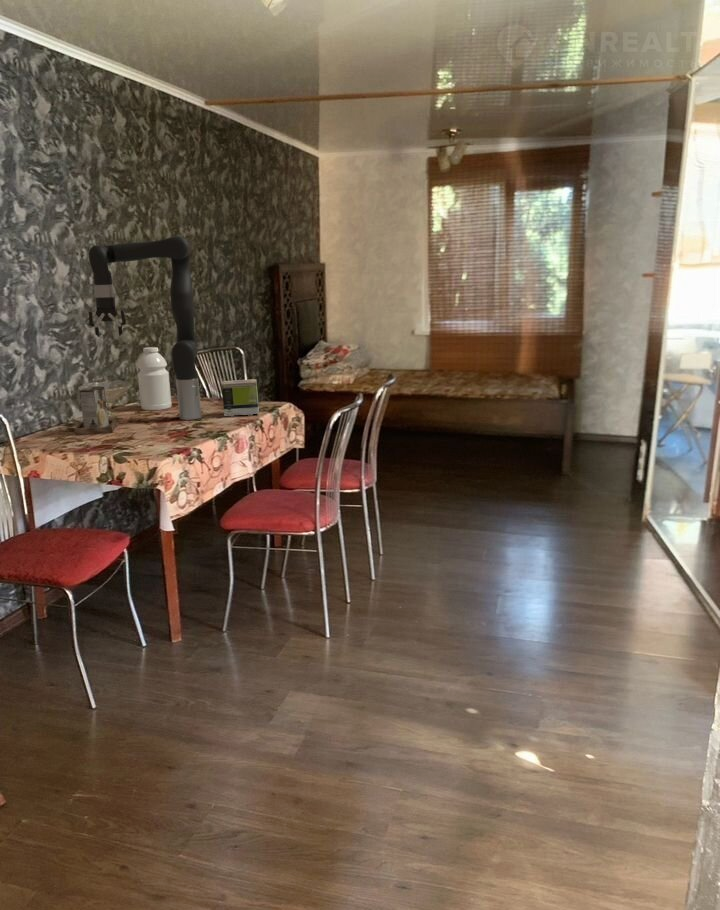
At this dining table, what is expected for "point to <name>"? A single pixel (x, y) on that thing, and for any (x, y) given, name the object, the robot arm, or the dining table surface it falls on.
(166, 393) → the bottle
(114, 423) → the walnut tray
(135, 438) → the dining table surface
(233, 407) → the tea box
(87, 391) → the coffee box
